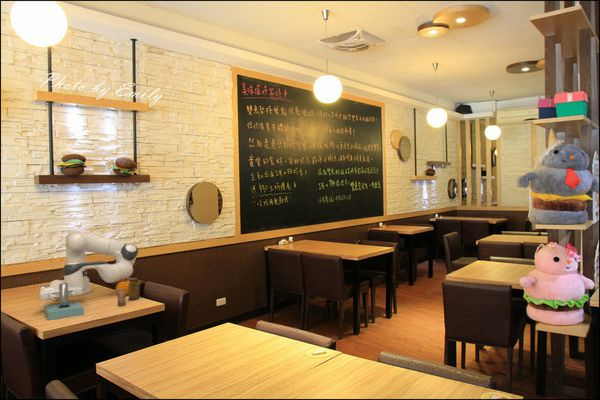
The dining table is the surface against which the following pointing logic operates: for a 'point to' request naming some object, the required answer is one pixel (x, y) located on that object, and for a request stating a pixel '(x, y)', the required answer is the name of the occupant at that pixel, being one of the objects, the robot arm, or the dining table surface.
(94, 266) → the robot arm
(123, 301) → the short pin
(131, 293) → the condiment
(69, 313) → the hole plate
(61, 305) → the long pin
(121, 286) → the fruit
